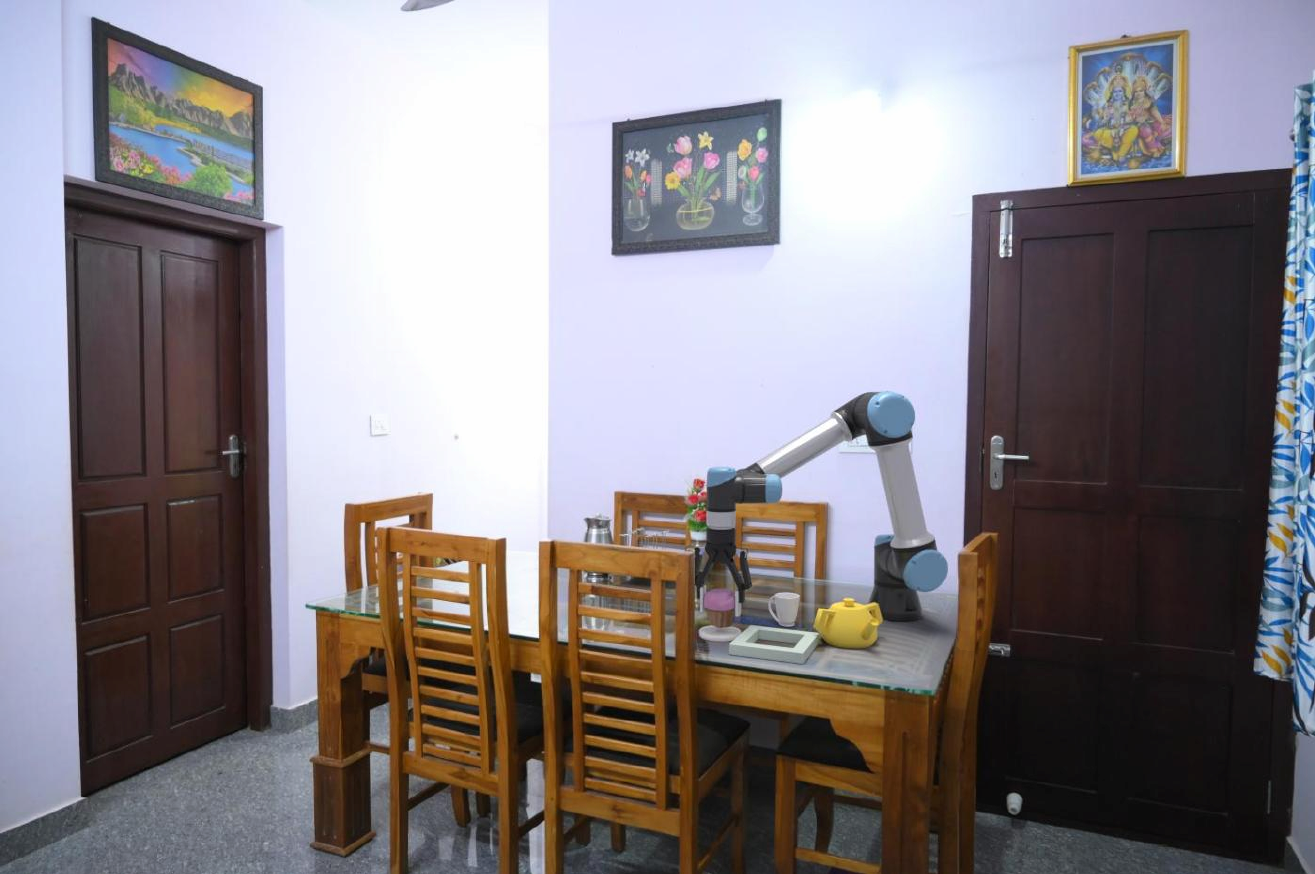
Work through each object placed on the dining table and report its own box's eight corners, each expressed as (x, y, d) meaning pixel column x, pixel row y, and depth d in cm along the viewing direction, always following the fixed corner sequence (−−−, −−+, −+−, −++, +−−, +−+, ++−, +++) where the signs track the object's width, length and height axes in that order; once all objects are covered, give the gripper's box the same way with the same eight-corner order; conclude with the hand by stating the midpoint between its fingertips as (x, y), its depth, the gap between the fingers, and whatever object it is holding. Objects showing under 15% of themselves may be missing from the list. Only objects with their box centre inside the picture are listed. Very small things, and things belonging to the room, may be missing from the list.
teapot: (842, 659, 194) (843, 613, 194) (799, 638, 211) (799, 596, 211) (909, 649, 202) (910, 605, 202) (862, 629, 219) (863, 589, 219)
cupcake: (743, 628, 212) (744, 589, 211) (716, 633, 207) (717, 594, 207) (722, 620, 219) (723, 583, 219) (696, 624, 215) (696, 587, 214)
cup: (788, 629, 219) (788, 599, 219) (760, 621, 227) (760, 592, 226) (805, 624, 224) (805, 595, 223) (777, 617, 231) (777, 588, 231)
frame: (819, 642, 207) (819, 633, 207) (802, 663, 191) (802, 653, 191) (750, 634, 214) (750, 625, 214) (728, 654, 198) (729, 644, 198)
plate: (746, 632, 216) (746, 627, 216) (733, 643, 206) (733, 638, 206) (707, 627, 221) (707, 622, 220) (692, 638, 210) (692, 633, 210)
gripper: (765, 527, 211) (764, 614, 212) (687, 522, 220) (686, 605, 221) (757, 531, 204) (756, 621, 205) (676, 526, 213) (676, 612, 214)
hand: (720, 613), depth 213 cm, fingers closed on cupcake, 9 cm apart
